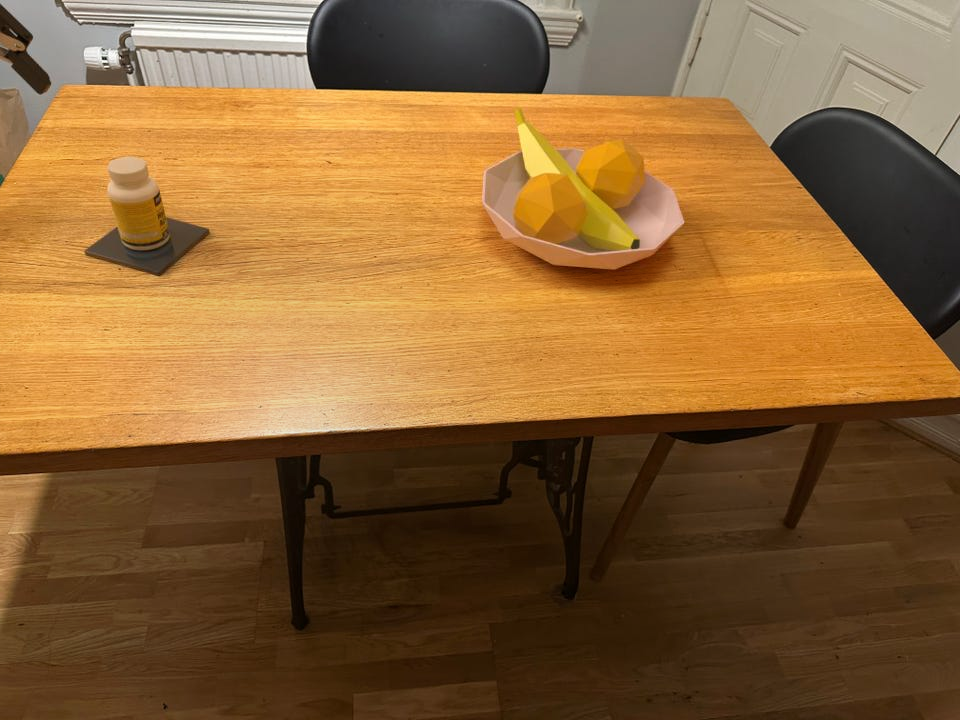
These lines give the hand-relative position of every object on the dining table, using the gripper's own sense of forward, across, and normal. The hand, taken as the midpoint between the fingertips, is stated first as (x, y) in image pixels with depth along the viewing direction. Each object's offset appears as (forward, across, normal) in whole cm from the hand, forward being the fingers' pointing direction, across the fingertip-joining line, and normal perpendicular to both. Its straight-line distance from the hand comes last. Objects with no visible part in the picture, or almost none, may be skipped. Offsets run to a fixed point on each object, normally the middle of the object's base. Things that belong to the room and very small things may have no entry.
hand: (15, 103), depth 71 cm
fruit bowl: (+51, +30, -27) cm, 65 cm away
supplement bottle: (+18, +4, +6) cm, 19 cm away
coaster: (+18, +4, +6) cm, 19 cm away
